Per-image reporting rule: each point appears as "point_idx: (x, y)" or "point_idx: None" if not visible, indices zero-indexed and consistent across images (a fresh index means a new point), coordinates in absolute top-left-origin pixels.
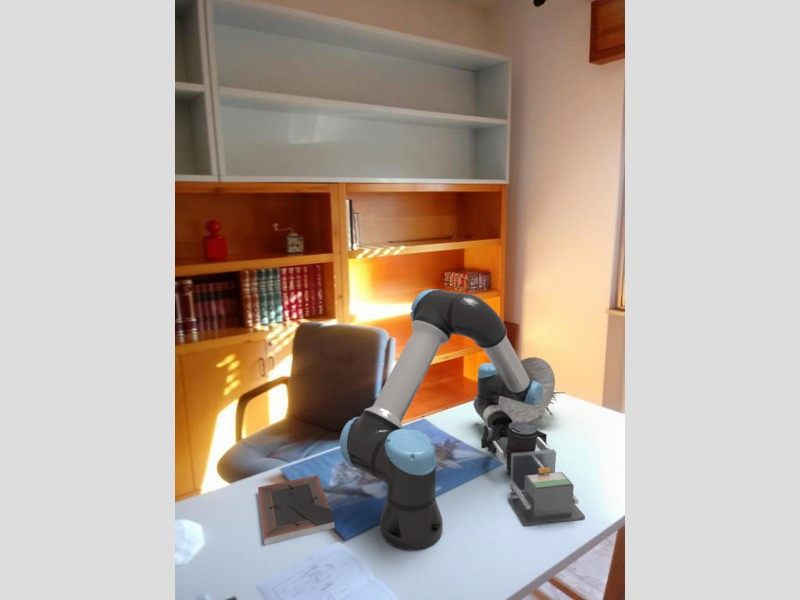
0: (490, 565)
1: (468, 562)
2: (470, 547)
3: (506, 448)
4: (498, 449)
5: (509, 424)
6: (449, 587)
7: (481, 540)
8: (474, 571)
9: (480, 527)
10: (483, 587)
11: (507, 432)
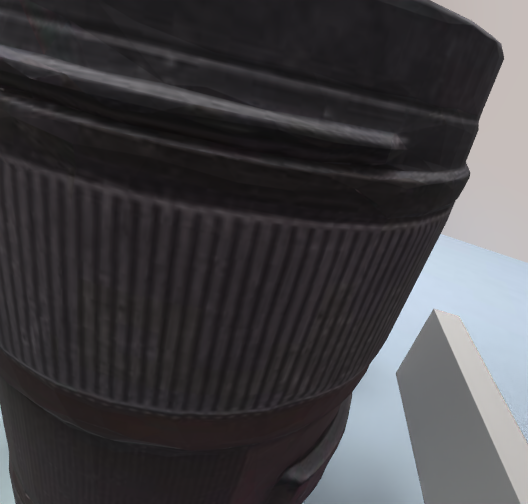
0: (450, 257)
1: (495, 275)
2: (495, 292)
3: (344, 421)
4: (481, 366)
5: (482, 34)
6: (522, 264)
7: (469, 293)
8: (481, 262)
9: (472, 317)
10: (464, 245)
11: (451, 205)
